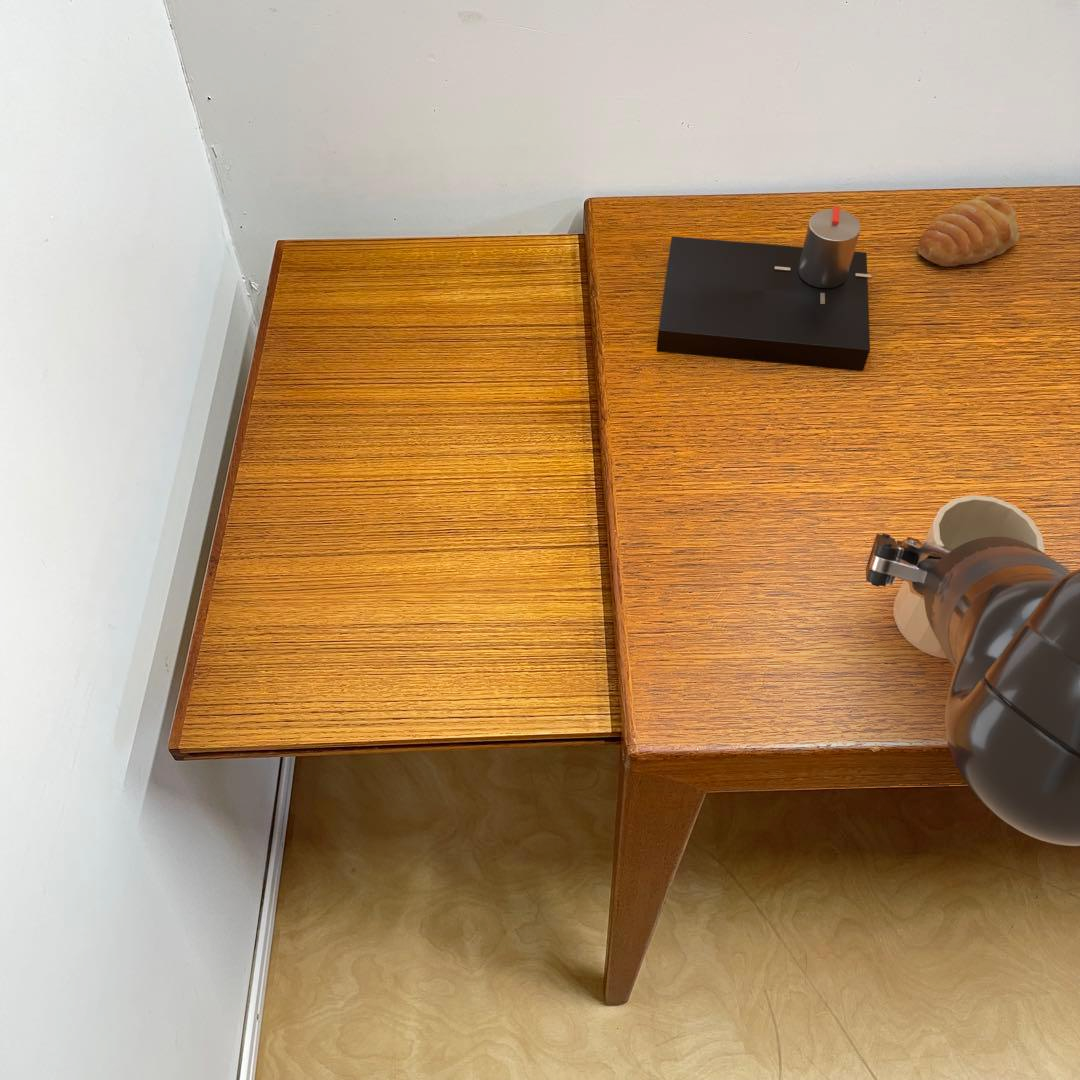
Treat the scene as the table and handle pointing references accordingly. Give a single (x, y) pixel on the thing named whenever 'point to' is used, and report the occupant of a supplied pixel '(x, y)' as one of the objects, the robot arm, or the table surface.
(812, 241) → the knob
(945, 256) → the pastry
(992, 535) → the cup
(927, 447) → the table surface
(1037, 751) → the robot arm
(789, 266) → the hob
